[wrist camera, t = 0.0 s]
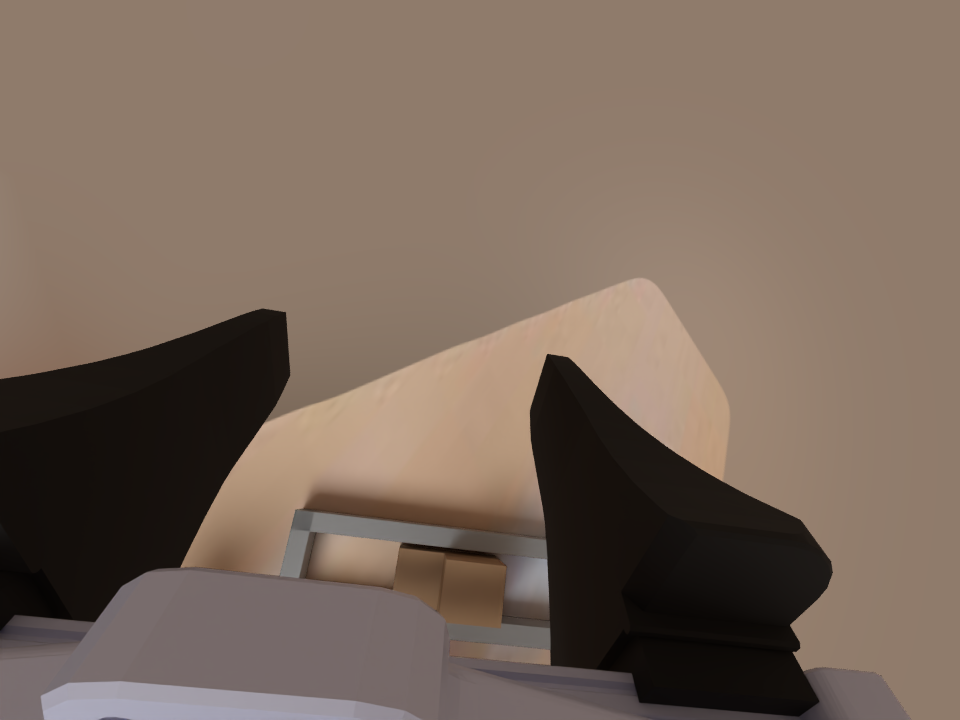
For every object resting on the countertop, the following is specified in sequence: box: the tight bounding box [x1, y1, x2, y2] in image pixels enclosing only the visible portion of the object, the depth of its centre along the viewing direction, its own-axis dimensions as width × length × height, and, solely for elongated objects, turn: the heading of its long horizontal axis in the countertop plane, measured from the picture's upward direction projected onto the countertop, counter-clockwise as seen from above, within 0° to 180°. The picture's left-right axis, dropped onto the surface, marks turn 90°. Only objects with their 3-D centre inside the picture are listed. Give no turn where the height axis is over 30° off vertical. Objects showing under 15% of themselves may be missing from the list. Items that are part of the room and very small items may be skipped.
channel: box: [280, 509, 550, 650], centre depth 38 cm, size 9×26×2 cm, turn 83°
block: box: [393, 545, 507, 628], centre depth 37 cm, size 4×9×6 cm, turn 83°
